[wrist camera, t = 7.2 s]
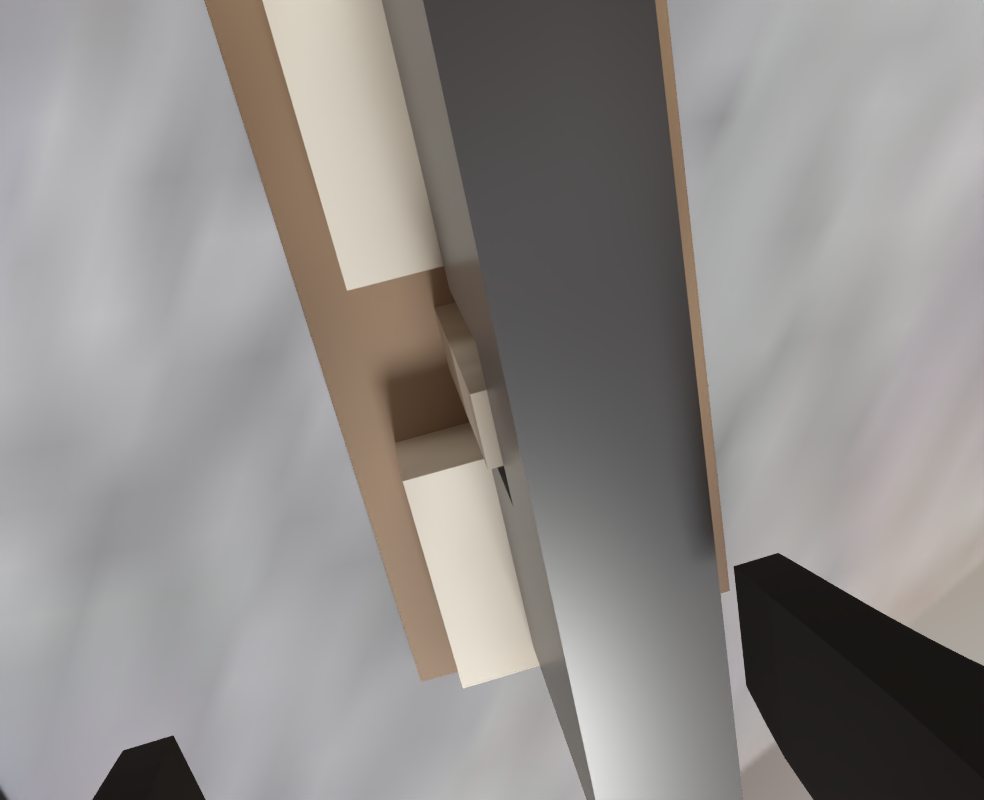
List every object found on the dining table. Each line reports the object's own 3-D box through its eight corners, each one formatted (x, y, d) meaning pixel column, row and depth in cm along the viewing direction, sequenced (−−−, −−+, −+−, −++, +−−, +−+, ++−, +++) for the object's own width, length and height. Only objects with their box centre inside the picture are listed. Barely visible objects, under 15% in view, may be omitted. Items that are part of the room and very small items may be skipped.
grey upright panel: (370, -47, 14) (406, -77, 9) (535, -83, 14) (661, -131, 9) (533, 647, 20) (609, 864, 15) (645, 614, 20) (757, 817, 15)
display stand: (417, 659, 22) (446, 834, 18) (178, -97, 15) (119, -144, 10) (716, 572, 23) (820, 716, 18) (629, -195, 16) (766, -280, 11)
